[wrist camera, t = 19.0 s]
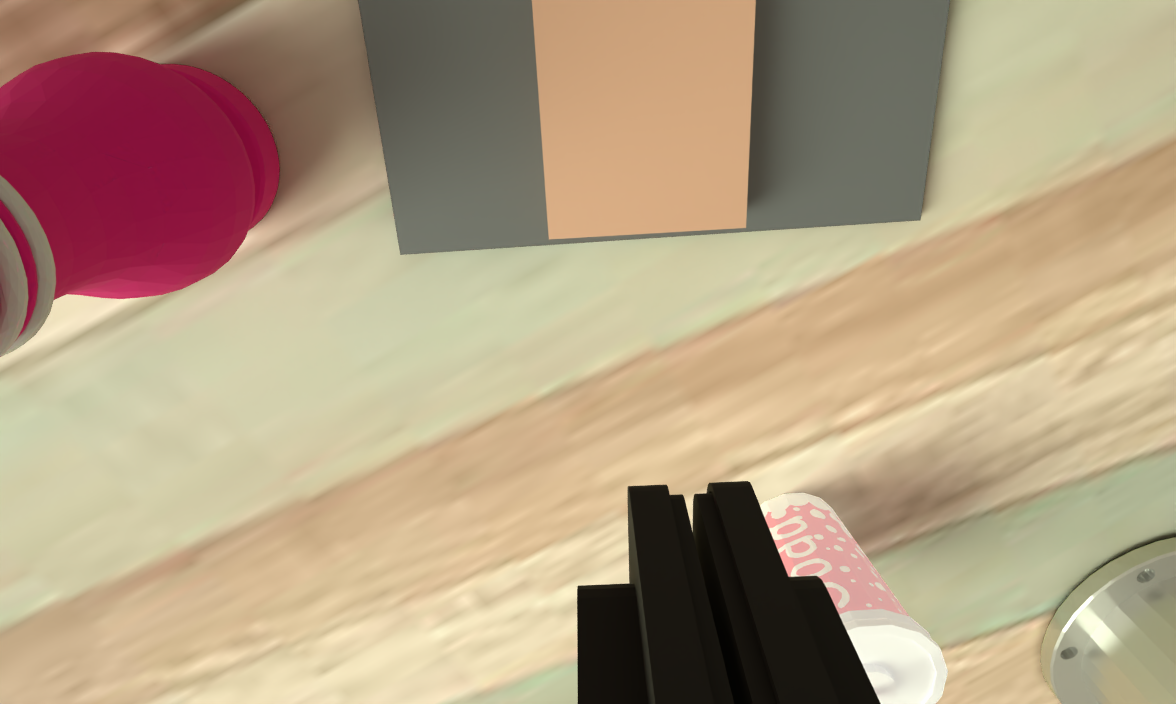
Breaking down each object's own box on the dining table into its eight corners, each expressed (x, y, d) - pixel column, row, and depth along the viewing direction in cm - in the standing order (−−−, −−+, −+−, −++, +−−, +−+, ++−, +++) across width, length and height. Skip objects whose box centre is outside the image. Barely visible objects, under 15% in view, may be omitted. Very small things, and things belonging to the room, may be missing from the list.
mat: (970, -223, 23) (980, -230, 22) (913, 216, 29) (920, 220, 28) (331, -190, 22) (325, -195, 22) (403, 250, 28) (400, 254, 28)
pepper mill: (321, 234, 28) (-119, 631, 9) (138, 268, 28) (-640, 720, 10) (253, 30, 25) (-579, 33, 6) (49, 69, 25) (-1317, 180, 7)
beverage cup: (848, 465, 33) (1034, 738, 20) (857, 568, 36) (1029, 868, 23) (716, 494, 34) (819, 781, 21) (735, 594, 36) (838, 905, 23)
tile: (756, -26, 22) (530, -15, 22) (746, 227, 26) (548, 239, 26) (741, -22, 24) (532, -12, 24) (732, 214, 28) (549, 225, 27)
